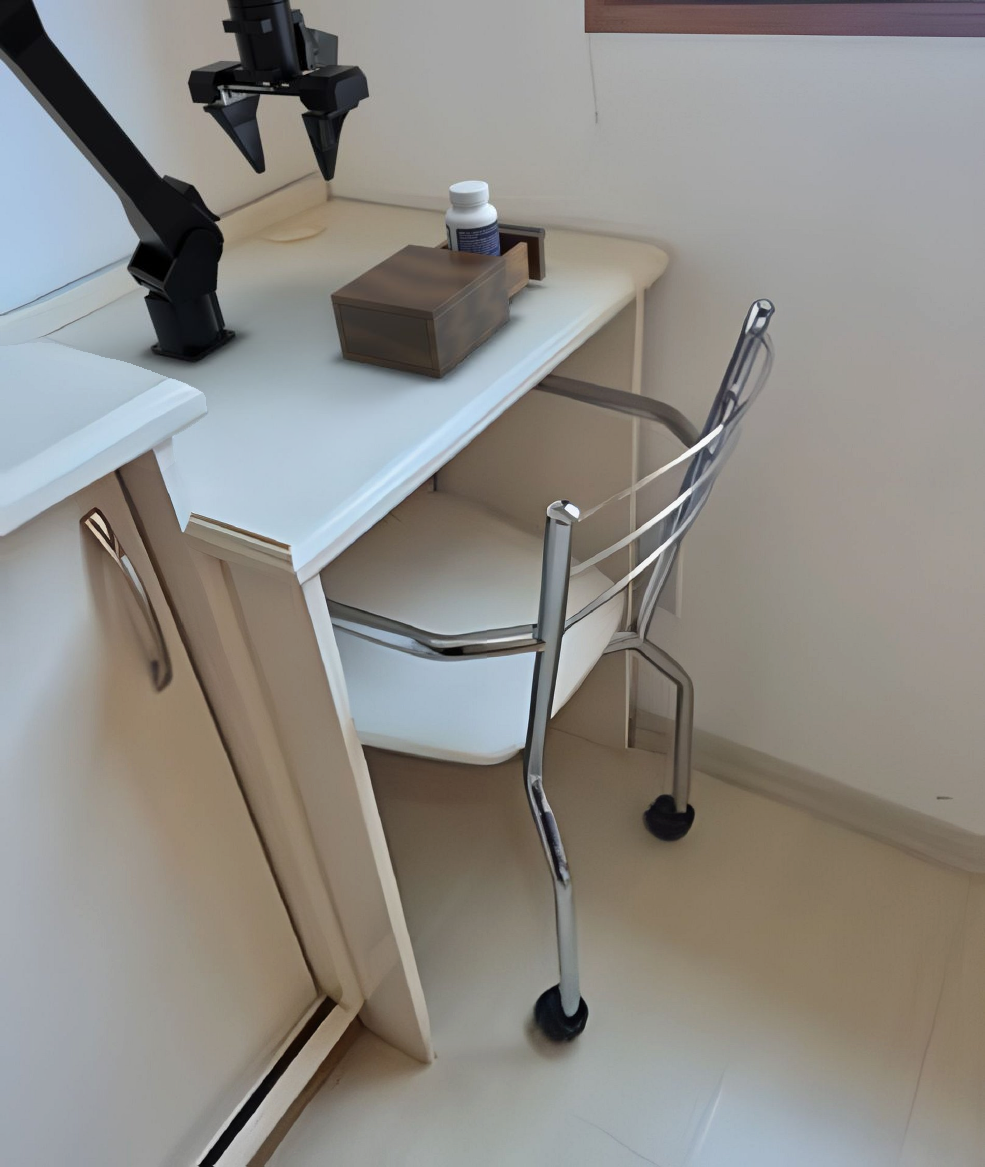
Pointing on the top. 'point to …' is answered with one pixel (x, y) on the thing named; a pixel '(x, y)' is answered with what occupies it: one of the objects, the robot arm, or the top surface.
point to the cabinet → (422, 309)
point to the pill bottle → (472, 220)
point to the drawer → (519, 254)
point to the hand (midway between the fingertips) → (294, 176)
